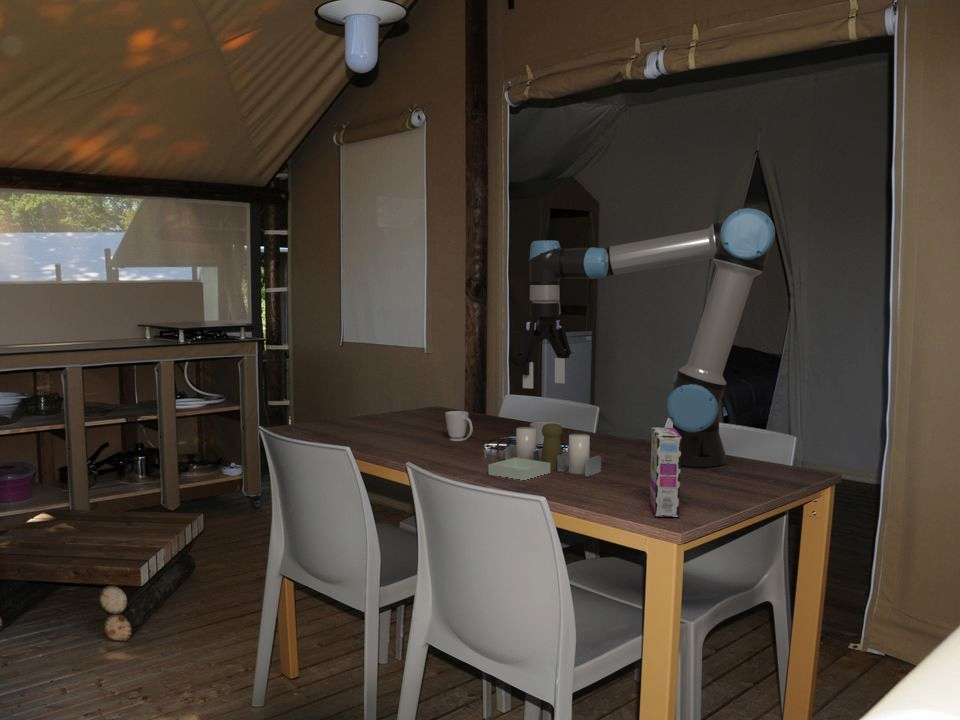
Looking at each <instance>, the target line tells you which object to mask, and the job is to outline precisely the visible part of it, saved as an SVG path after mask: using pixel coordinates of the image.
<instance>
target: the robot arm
mask: <svg viewBox="0 0 960 720" xmlns="http://www.w3.org/2000/svg"><path fill="white" fill-rule="evenodd" d="M775 237H776V228H775V225H774V223H773V221H772V219H771V216H770V217H769V215H768V214H766V213H765V212H764V211H762V210H759V209H757V208H749V207H748V208H746V207H745V208H740V209H737V210H736V211H734V212H732V213H731V214H729V215H728V216H727V218H725V220H724V221H722V222H717V223H711V225H710V226H709V227H708V228H705V229H699V230H695V231H689V232H683V233H679V234H673V235H667V236H660V237H656V238H650V239H647V240H646V239H644V240H639V241H634V242H629V243H623V244H622V243H621V244H616V245H611V246H606V247H579V248H578V247H573V248H563V247H561V245H560V242H559V241H558V240H551V239H550V240H548V239H547V240H543V239H542V240H534V241H532V242H531V243H530V248H529V259H528V261H529V301H531V303H530V304H529V317H530V318H532V321H525V322H523V323H524V324H523V333H522V335H521V339H520V343H519V346H518V348H517V352H516V355H515V359H516V360H517V361H518V362H520V363H521V374H522V389H534V362H533V361H532V360H533V358H534V355H535V354H536V351H537V350H538V347H539V345H540V343H541V342H543V340H547V341H548V343H549V344H550V346H551V348H552V350H553V351H554V354H555V356H556V357H555V358H554V384H563V385H564V384H566V359H570V356H571V355H572V351H571V347H570V344H569V339H568V338H567V337H568V336H567V333H566V329H565V322H564V320H561V319H560V320H558V319H556V318H559V317H560V303H559V302H558V301H560V297H561V296H560V294H561V293H560V279H590V280H598V279H604V278H606V277H612V276H615V275H622V274H623V275H624V274H627V273H633V272H640V271H647V270H652V269H653V270H654V269H659V268H664V267H670V266H676V265H681V264H688V263H695V262H699V261H707V260H711V259H712V260H713V262H714V264H715V266H716V271H715V274H714V278H713V281H712V284H711V287H710V289H709V290H710V291H709V293H708V295H707V296H708V297H707V301H706V304H705V306H704V308H703V309H704V310H703V313H702V315H701V319H700V322H699V326H698V327H697V328H698V329H697V332H696V335H695V338H694V341H693V345H692V348H691V351H690V355H689V357H688V360H687V363H686V364H685V365H682V367H680V368H678V370H677V371H678V372H677V373H675V374H674V376H673V381H672V385H673V387H672V388H671V389H672V390H671V393H670V395H668V398H667V400H666V412H667V415H668V417H669V419H670V421H671V422H672V428H674V429H675V430H676V431H677V432H678V433H679V435H680V436H681V437H682V441H681V466H684V467H690V468H692V467H693V468H694V467H695V468H711V467H712V466H713V467H719V465H720V466H723V465H725V464H726V451H725V449H724V445H723V442H722V438H721V435H720V409H721V408H720V407H721V406H720V405H721V402H722V398H723V395H724V393H725V389H726V386H727V381H726V379H725V378H724V375H723V374H724V372H725V368H726V365H727V362H728V358H729V356H730V352H731V349H732V347H733V343H734V340H735V337H736V334H737V331H738V327H739V325H740V321H741V318H742V316H743V312H744V309H745V306H746V304H747V303H746V302H747V300H748V297H749V293H750V291H751V287H752V284H753V281H754V278H755V277H757V276H759V275H761V274H763V272H764V269H765V266H766V263H767V259H768V257H769V254H770V251H771V247H772V245H773V244H774V241H775Z"/></svg>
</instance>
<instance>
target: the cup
mask: <svg viewBox="0 0 960 720" xmlns="http://www.w3.org/2000/svg"><path fill="white" fill-rule="evenodd" d="M444 415H445V416H444V417H445V421H446V427H447V428H446V429H447V433H448V436H449V437H450V438H449V440H450V441H452V442H453V441H454V442H460V441H461V442H464V441H466V440H468V439H469V438H470V437H471V435H472V434H473V431H474V430H473V429H474V428H473V424H472V423H473V422H472V421H471V419H470V418H469V412H468V411H465V410H451V411H450V410H449V411H446V412H444ZM468 424H469V433H468V434H467V436H466V437H465V435H466V432H467V426H468Z"/></svg>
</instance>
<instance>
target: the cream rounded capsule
mask: <svg viewBox="0 0 960 720" xmlns="http://www.w3.org/2000/svg"><path fill="white" fill-rule="evenodd" d="M515 431H516V435H515V436H516V438H515V439H516V440H515V441H516V443H515V445H516V458H522V459H529V460H531V451H534V450H537V447H536V428H533V427H530V426H521V427H516V429H515Z"/></svg>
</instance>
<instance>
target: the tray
mask: <svg viewBox="0 0 960 720" xmlns="http://www.w3.org/2000/svg"><path fill="white" fill-rule="evenodd" d="M548 473H549V474H550V473H551V470H550V463H548V462H541V461H535V460H529V459H522V458H516V457H514V458H511V459H507V460H505V459H504V460H501V461H495V462H493V463H489V464H488V475H489V476H493V477H494V476H495V477H499V476H501V477H500V478H505V477H508V478H507V479H511V478H513V480H516V479H520V480H519V481H522V480H526V481H528V480H527V479H529V480H531V479H530V478H533V479H535V478H534V477H536V478H538V477H537V476H539V477H541V476H540V475H542V476H545V475H544V474H546V475H549V474H548Z"/></svg>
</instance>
